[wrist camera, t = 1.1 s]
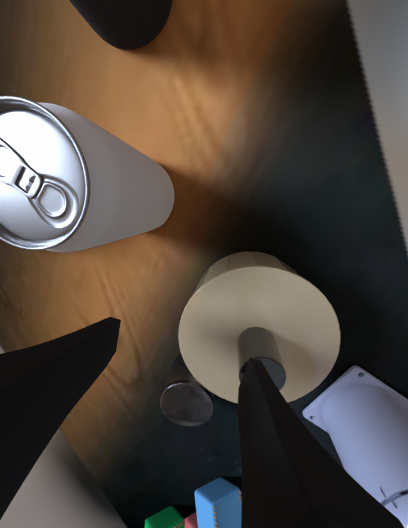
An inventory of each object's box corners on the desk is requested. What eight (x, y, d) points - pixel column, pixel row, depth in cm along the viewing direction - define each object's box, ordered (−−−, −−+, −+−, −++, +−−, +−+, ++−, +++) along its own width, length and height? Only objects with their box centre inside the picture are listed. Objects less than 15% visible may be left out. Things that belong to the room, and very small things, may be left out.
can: (150, 245, 21) (52, 290, 9) (95, 201, 21) (-77, 194, 9) (190, 189, 19) (131, 161, 8) (132, 141, 19) (-23, 35, 7)
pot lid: (368, 321, 15) (421, 364, 11) (268, 417, 18) (279, 480, 14) (236, 230, 14) (239, 240, 10) (156, 345, 17) (133, 388, 13)
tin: (224, 367, 24) (223, 403, 19) (200, 395, 25) (194, 435, 21) (187, 343, 23) (177, 374, 19) (164, 373, 25) (150, 408, 20)
